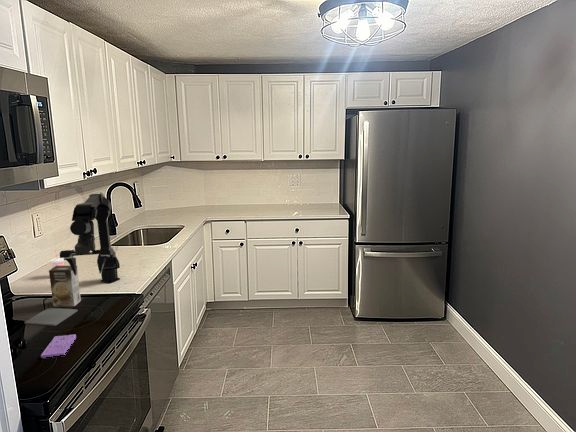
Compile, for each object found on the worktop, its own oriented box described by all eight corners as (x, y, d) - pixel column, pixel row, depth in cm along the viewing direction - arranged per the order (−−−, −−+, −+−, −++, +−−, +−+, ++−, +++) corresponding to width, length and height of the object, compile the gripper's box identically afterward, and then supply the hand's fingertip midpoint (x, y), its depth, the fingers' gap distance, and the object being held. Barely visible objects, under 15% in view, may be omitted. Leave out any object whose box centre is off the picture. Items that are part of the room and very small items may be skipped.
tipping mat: (48, 309, 170) (48, 307, 170) (77, 310, 168) (77, 309, 168) (24, 323, 158) (24, 322, 158) (55, 325, 156) (55, 324, 156)
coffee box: (52, 307, 172) (47, 270, 169) (60, 300, 178) (55, 265, 175) (74, 306, 172) (70, 270, 169) (81, 300, 179) (77, 264, 175)
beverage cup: (56, 274, 211) (52, 248, 208) (68, 274, 211) (65, 247, 208) (50, 278, 205) (46, 251, 202) (63, 278, 205) (59, 251, 202)
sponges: (76, 338, 147) (76, 334, 146) (64, 357, 135) (63, 352, 134) (55, 340, 146) (54, 335, 145) (41, 360, 134) (40, 354, 133)
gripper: (53, 236, 156) (55, 278, 156) (106, 233, 160) (108, 274, 159) (63, 236, 167) (65, 275, 167) (112, 234, 171) (114, 271, 170)
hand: (88, 274), depth 165 cm, fingers open, 9 cm apart
